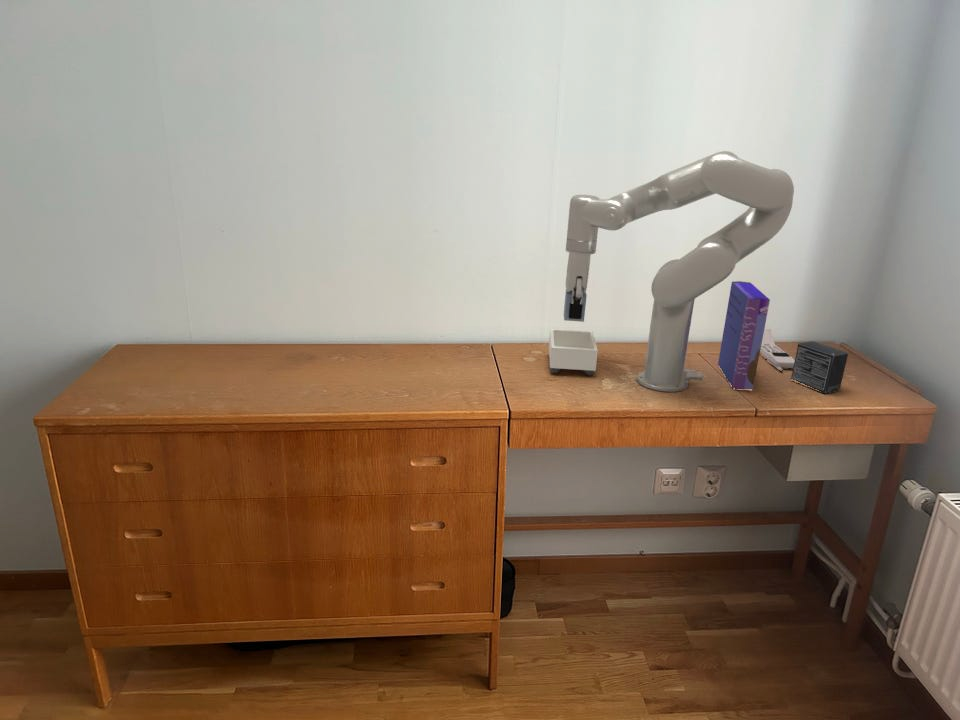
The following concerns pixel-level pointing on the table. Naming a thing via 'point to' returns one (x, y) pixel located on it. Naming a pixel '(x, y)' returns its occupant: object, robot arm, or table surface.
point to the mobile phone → (775, 352)
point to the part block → (567, 305)
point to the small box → (819, 366)
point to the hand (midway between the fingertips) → (574, 314)
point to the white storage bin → (572, 350)
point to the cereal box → (743, 334)
